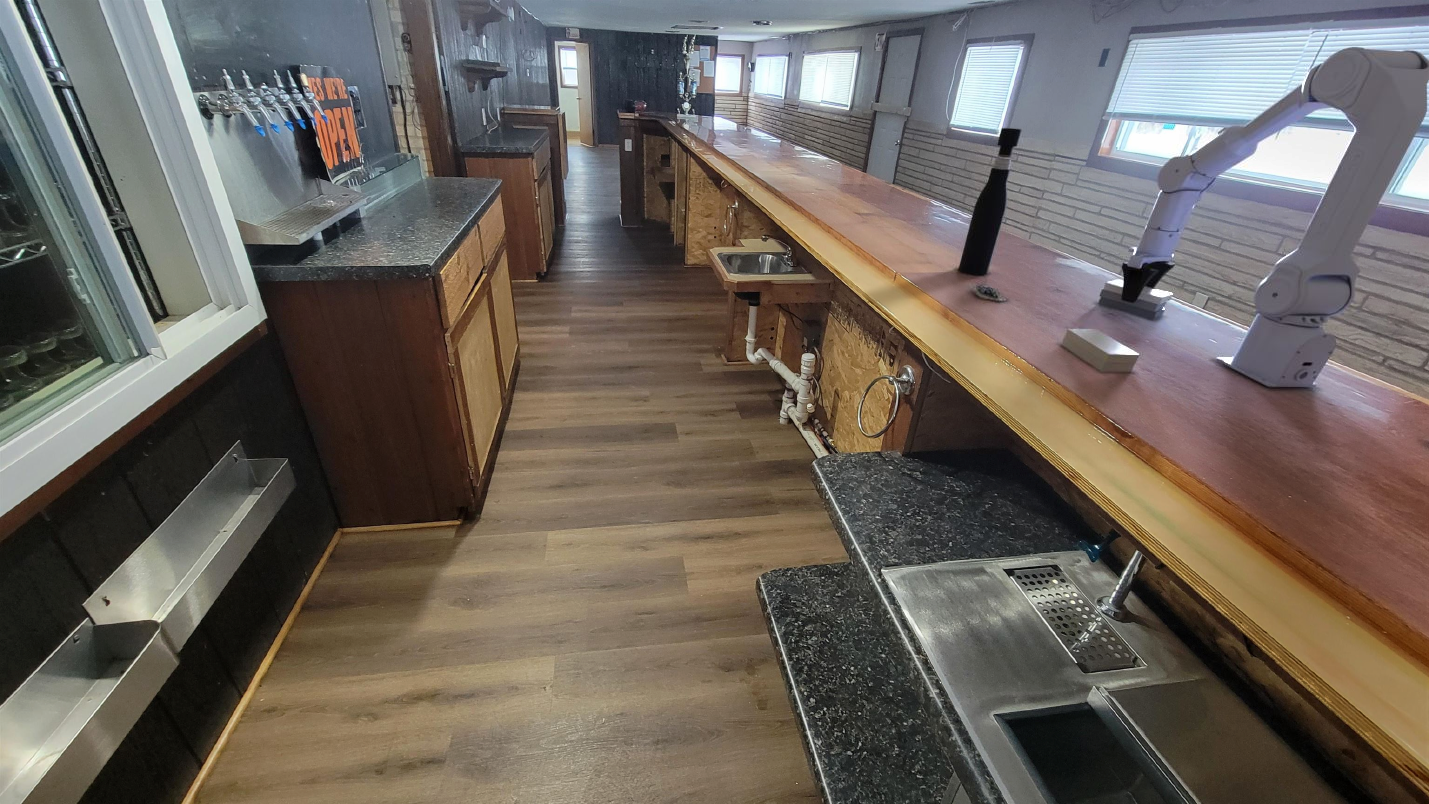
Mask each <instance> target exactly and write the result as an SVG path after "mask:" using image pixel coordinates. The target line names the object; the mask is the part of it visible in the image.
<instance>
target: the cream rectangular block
mask: <svg viewBox="0 0 1429 804" xmlns="http://www.w3.org/2000/svg"><path fill="white" fill-rule="evenodd" d="M1060 345H1061V346H1062V347H1064V348H1065V349H1066V350H1068V351H1070V352H1071V353H1073V354H1074V355H1076V356H1077V357H1078V358H1079V359H1081V360H1083V361H1084V362H1086V363H1088V364H1090V365H1091V366H1092V367H1093V368H1095V369H1097V371H1100V372H1132V371H1133V369H1134V367H1135V365H1136V363H1137V361H1138V359H1139V357H1140V353H1137V352H1136V351H1135V350H1133V349H1131V348H1129V347H1128V346H1126V345H1123V344H1122V343H1120V342H1119V341H1117V340H1115V339H1114V338H1112V337H1110V336H1108V335H1107V334H1106V333H1103V332H1102V331H1100V330H1098V329H1096V328H1067V329H1066V332H1065V334H1064V337H1063V339H1062V341H1061V344H1060Z"/></svg>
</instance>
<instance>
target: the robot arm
mask: <svg viewBox="0 0 1429 804" xmlns="http://www.w3.org/2000/svg"><path fill="white" fill-rule="evenodd" d="M1428 83H1429V59H1428V58H1427V57H1426V55H1424V54H1422V53H1421V52H1419V51H1418V50H1413V49H1412V50H1411V49H1410V50H1409V49H1405V50H1387V49H1375V48H1373V49H1371V48H1364V47H1361V46H1360V47H1359V46H1350V47H1346V48H1343V49H1341V50H1338V51H1336V52H1335V53H1333V54H1331V55H1330V56H1329V57H1328V58H1327V59H1325V60H1324V61H1323V62H1322V63H1321V62H1320V64H1317V65H1315V66H1314V67H1312V68H1310V69H1309V71H1308V72H1307V74H1306V77H1305V78H1304V80H1303V81H1301V82H1300V84H1298V85H1296V86H1295V87H1293V89H1291V90H1289V92H1287V93H1286V94H1285V95H1283V96H1282V97H1280V98H1279V99H1278V100H1276V101H1275V102H1274V103H1273V104H1271V105H1270V106H1268V107H1267V108H1266V109H1264V110H1263V111H1262V112H1260V113H1259V114H1257V115H1256V116H1255V117H1254V118H1253V119H1251V120H1250V121H1248V122H1247V123H1246V124H1245V125H1232V126H1229V127H1222V128H1221V129H1220V130H1219V131H1217V135H1215V137H1213V138H1211V139H1210V140H1208V141H1207V142H1205V143H1204V144H1202V145H1201V146H1200V147H1196V148H1194V149H1193V150H1192V151H1191V153H1189V154H1185V155H1184V156H1174V157H1171V158H1170V159H1169V160H1167V162H1165V163H1164V164H1163V166H1162V167H1161V168H1160V170H1159V172H1158V175H1157V181H1156V183H1157V187H1158V189H1159V190H1160V191H1159V193H1158V195H1157V198H1156V200H1155V203H1154V205H1153V208H1152V210H1151V213H1150V215H1149V217H1148V220H1147V222H1146V224H1145V227H1144V230H1143V232H1142V234H1141V236H1140V238H1139V242H1138V244H1137V246H1131V247H1129V248H1128V253H1129V252H1130V253H1133V254H1131V256H1130V258H1129V261H1128V260H1127V261H1123V262H1122V264H1121V270H1122V275H1123V276H1122V277H1123V281H1124V282H1123V290H1122V300H1123V301H1126V302H1130V303H1134V302H1135V301H1136V300H1137V298H1138V297H1139V295H1140V294H1141V292H1142V290H1143V288H1144V287H1145V286H1146V287H1150V288H1154V289H1155V288H1156V286H1157V285H1158V283H1159V282H1160V281H1161V280H1162V279H1163V277H1164V276H1165V275H1167V274H1168V273H1169V272H1170V271H1171V270H1172V269H1173V268H1174V267H1175V265H1176V263H1174V262H1171V261H1172V260H1173V258H1174V254H1175V251H1176V248H1177V246H1178V244H1179V241H1180V240H1181V237H1182V236H1183V232H1184V230H1185V228H1186V226H1187V223H1188V221H1189V219H1190V217H1191V215H1192V213H1193V210H1194V208H1195V206H1196V204H1198V203H1199V202H1200V201H1201V199H1202V197H1203V195H1204V194H1205V193H1206V192H1207V191H1208V190H1209V189H1210V188H1212V187H1213V185H1214V184H1215V182H1216V181H1217V177H1219V176H1220V175H1222V174H1224V173H1226V172H1227V171H1229V170H1230V169H1232V168H1234V167H1236V166H1237V165H1239V164H1240V163H1242V162H1243V161H1245V160H1247V159H1248V158H1250V157H1252V156H1254V154H1255V153H1256V151H1257V149H1258V147H1259V144H1260V142H1263V141H1265V140H1266V139H1268V138H1270V137H1271V136H1273V135H1274V134H1277V133H1279V132H1280V131H1282V130H1283V129H1286V128H1287V127H1289V126H1290V125H1293V124H1294V123H1296V122H1298V121H1300V120H1301V119H1303V118H1305V117H1307V116H1308V115H1310V114H1312V113H1314V112H1315V111H1318V110H1325V109H1334V110H1337V111H1339V112H1341V114H1343V115H1344V117H1345V119H1346V120H1347V121H1348V122H1349V123H1350V124H1351V126H1352V127H1353V128H1354V132H1353V134H1352V135H1351V138H1350V140H1349V142H1348V144H1347V146H1346V148H1345V150H1344V152H1343V155H1342V157H1341V159H1340V161H1339V162H1338V165H1337V167H1336V169H1335V171H1334V173H1333V174H1332V177H1331V179H1330V181H1329V182H1328V185H1327V187H1326V189H1325V191H1324V193H1323V196H1322V197H1321V199H1320V201H1319V204H1318V205H1317V207H1316V209H1315V211H1314V214H1313V215H1312V218H1311V220H1310V222H1309V224H1308V226H1307V228H1306V230H1305V232H1304V234H1303V236H1302V239H1301V240H1300V242H1299V245H1298V246H1297V248H1296V249H1295V250H1294V251H1292V252H1291V253H1289V254H1287V255H1286V256H1284V257H1282V258H1281V259H1280V260H1278V261H1277V262H1276V263H1275V264H1274V266H1273V268H1272V270H1271V272H1270V273H1269V274H1268V275H1267V276H1266V277H1265V278H1263V280H1262V281H1260V283H1259V284H1258V285H1257V286H1256V289H1255V292H1254V294H1253V302H1254V306H1255V308H1256V310H1255V311H1254V313H1255V314H1256V315H1255V318H1254V319H1253V321H1252V323H1251V325H1250V326H1249V328H1248V330H1247V332H1246V333H1245V336H1244V337H1243V339H1242V341H1241V342H1240V344H1239V346H1238V348H1237V350H1236V352H1235V354H1234V356H1232V357H1231V356H1230V357H1229V356H1228V357H1227V356H1223V357H1222V356H1221V357H1220V356H1219V357H1216V358H1215V361H1217V362H1218V363H1221V364H1222V365H1225V366H1226V367H1229V368H1231V369H1232V370H1234V371H1236V372H1238V373H1241V374H1242V375H1244V376H1246V377H1247V378H1250V379H1252V380H1254V381H1255V382H1257V383H1260V384H1262V385H1264V386H1266V387H1269V388H1315V387H1317V383H1316V380H1317V378H1318V377H1319V376H1320V373H1321V372H1322V370H1323V369H1324V367H1325V366H1326V364H1327V362H1328V361H1329V359H1330V358H1331V357H1332V355H1333V353H1334V352H1335V349H1336V346H1337V339H1336V337H1335V336H1334V335H1333V334H1331V333H1329V332H1328V331H1326V330H1325V329H1324V327H1323V325H1324V324H1327V323H1328V321H1329V319H1330V318H1331V317H1333V316H1336V315H1338V314H1341V313H1343V312H1345V310H1347V308H1349V307H1350V305H1351V304H1352V303H1353V301H1354V299H1355V296H1356V280H1357V279H1358V276H1359V275H1360V272H1361V269H1360V267H1359V266H1358V264H1357V263H1356V262H1355V260H1354V259H1353V258H1352V254H1353V253H1354V250H1355V249H1356V247H1357V245H1358V243H1359V241H1360V239H1361V237H1362V236H1363V233H1364V232H1365V230H1366V228H1367V226H1368V224H1369V222H1370V220H1371V219H1372V217H1373V215H1374V213H1375V211H1376V209H1377V207H1378V205H1379V204H1380V202H1381V199H1382V198H1383V196H1384V195H1385V193H1386V190H1387V189H1388V188H1389V185H1390V183H1391V181H1392V179H1393V177H1394V176H1395V174H1396V172H1397V170H1398V168H1399V166H1400V165H1401V163H1402V161H1403V159H1404V157H1405V155H1406V153H1407V151H1408V150H1409V148H1410V146H1411V144H1412V142H1413V140H1414V138H1415V136H1416V135H1417V132H1418V131H1419V129H1420V127H1421V125H1422V123H1423V121H1424V120H1425V117H1426V115H1427V112H1428Z"/></svg>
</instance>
